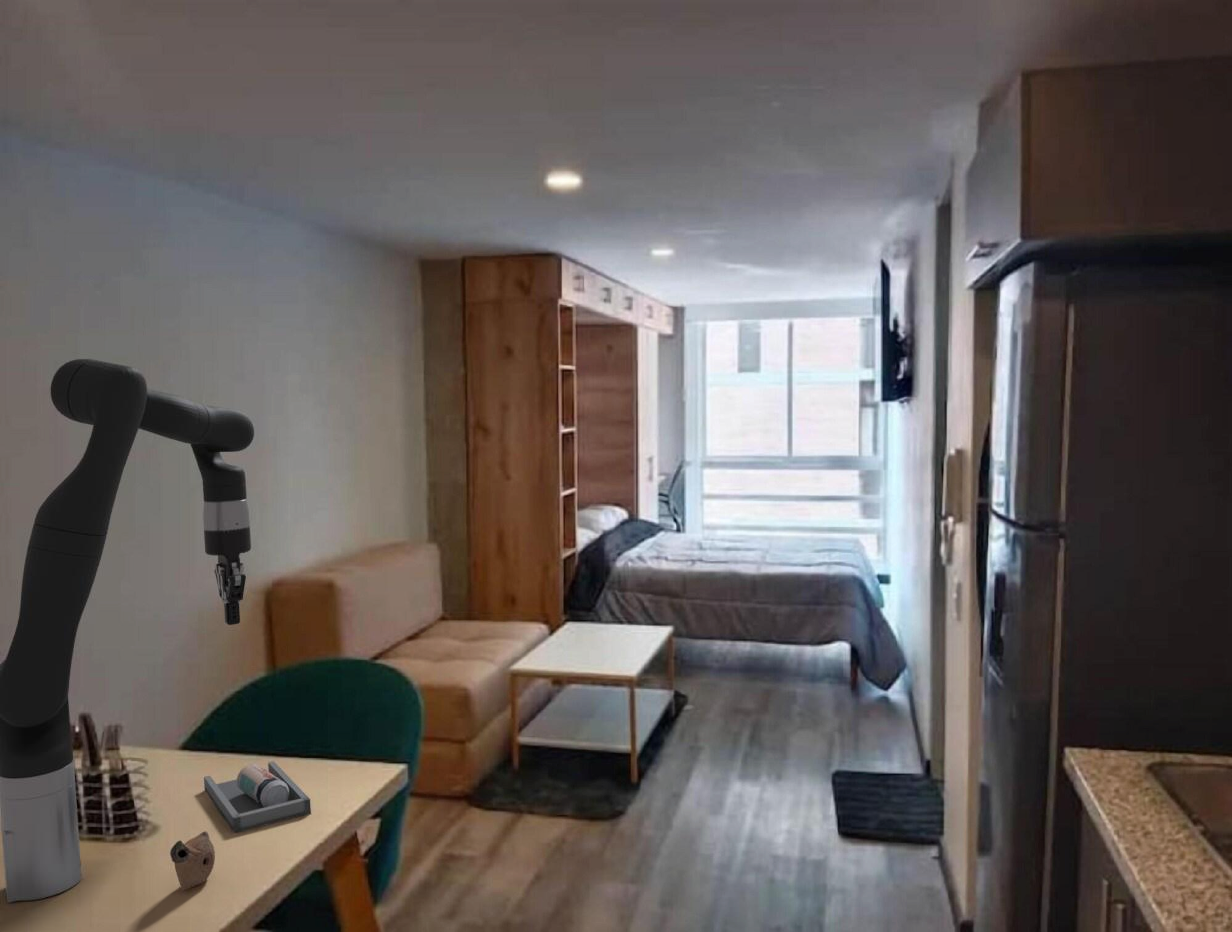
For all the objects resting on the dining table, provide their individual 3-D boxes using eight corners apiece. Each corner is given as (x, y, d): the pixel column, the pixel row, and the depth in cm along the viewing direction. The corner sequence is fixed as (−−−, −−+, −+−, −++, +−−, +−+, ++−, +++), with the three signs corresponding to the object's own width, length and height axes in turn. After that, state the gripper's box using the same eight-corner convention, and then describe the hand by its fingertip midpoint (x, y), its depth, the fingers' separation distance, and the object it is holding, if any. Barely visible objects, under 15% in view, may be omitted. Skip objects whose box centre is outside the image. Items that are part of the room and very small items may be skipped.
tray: (234, 833, 155) (233, 818, 155) (204, 790, 173) (203, 776, 173) (310, 813, 162) (310, 799, 161) (274, 773, 180) (273, 761, 180)
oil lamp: (188, 904, 133) (185, 846, 132) (160, 903, 133) (157, 846, 133) (223, 872, 142) (219, 818, 141) (196, 872, 142) (193, 818, 142)
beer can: (267, 781, 172) (295, 800, 163) (241, 796, 170) (268, 817, 160) (257, 757, 171) (285, 776, 162) (231, 773, 168) (258, 792, 159)
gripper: (258, 527, 169) (264, 626, 170) (240, 520, 180) (245, 614, 181) (212, 531, 165) (218, 633, 166) (196, 524, 176) (202, 620, 177)
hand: (232, 623), depth 173 cm, fingers closed
